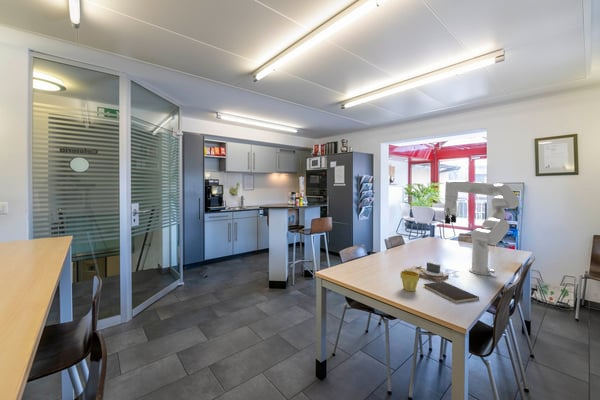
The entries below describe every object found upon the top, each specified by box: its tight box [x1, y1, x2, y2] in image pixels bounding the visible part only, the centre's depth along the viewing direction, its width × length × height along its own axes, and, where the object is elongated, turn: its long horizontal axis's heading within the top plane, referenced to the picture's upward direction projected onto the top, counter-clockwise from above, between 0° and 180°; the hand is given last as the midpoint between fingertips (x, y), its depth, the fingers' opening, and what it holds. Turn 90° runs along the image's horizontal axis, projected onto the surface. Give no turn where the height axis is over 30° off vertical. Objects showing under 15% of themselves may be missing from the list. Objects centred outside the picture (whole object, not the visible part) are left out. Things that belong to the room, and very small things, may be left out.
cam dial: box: [420, 261, 444, 277], centre depth 173 cm, size 15×12×7 cm
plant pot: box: [399, 270, 420, 292], centre depth 151 cm, size 10×10×10 cm
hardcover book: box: [423, 281, 480, 304], centre depth 146 cm, size 16×23×2 cm
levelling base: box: [403, 265, 449, 283], centre depth 176 cm, size 24×14×4 cm, turn 38°
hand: (450, 223), depth 176 cm, fingers open, 9 cm apart
